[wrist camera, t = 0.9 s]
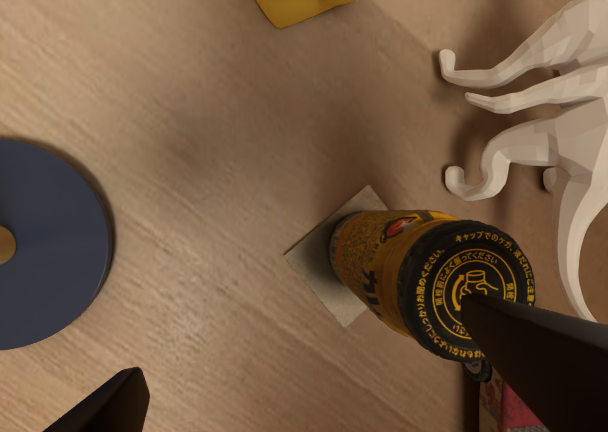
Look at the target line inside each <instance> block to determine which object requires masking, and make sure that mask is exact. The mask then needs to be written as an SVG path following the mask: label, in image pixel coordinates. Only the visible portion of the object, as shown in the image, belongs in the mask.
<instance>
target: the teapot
mask: <svg viewBox="0 0 608 432" xmlns="http://www.w3.org/2000/svg"><path fill="white" fill-rule="evenodd" d="M256 1H257V2H258V4H259V6H260V7H261V9H262V10H263V12H264V13H265V15H266V16H267V18H268V19H269V20H270V21H271V23H272V24H273V25H274V26H275V27H277V28H279V29H281V28H286V27H288V26H291V25H294V24H296V23H299V22H301V21H304V20H306V19H308V18H311V17H313V16H315V15H317V14H320V13H322V12H324V11H326V10H329V9H331V8H333V7H335V6H337V5H343V4H348V3H350V2H353V1H355V0H256Z"/></svg>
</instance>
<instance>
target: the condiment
mask: <svg viewBox="0 0 608 432" xmlns="http://www.w3.org/2000/svg"><path fill="white" fill-rule="evenodd" d="M283 257H284V258H285V259H286V260H287V262H288V263H289V264H290V265H291V266H292V267H293V268H294V270H295V271H296V272H297V273H298V274H299V275H300V277H301V278H302V279H303V280H304V281H305V283H306V284H307V285H308V286H309V287H310V288H311V290H312V291H313V292H314V293H315V294H316V295H317V297H318V298H319V299H320V300H321V301H322V303H323V304H324V305H325V306H326V307H327V308H328V310H329V311H330V312H331V313H332V314H333V315H334V317H335V318H336V319H337V320H338V321H339V323H340V324H341V325H342V326H343V327H344V328H345V327H347V326H348V325H349V324H350V323H351V322H353V321H354V320H355V319H356V318H357V317H358V316H359V315H360V314H361V313H363V312H364V311H365V310H366V309H367V308H369V309H370V310H371V311H372V312H373V313H374V314H375V315H376V316H377V317H378V318H379V319H380V320H381V321H383V322H384V323H385V324H386V325H387V326H389V327H390V328H391V329H393V330H394V331H396V332H398V333H400V334H402V335H404V336H407V337H410V338H414V339H415V340H416V341H417V342H418V343H419V344H420V345H421V346H422V347H423V348H425V349H427V350H429V351H430V352H431V353H433V354H435V355H436V356H438V355H439V356H440V357H441V358H444V359H447V360H453V361H457V362H461V363H472V362H475V361H479V360H483V359H487V358H486V357H485V356H484V354H483V353H482V352H481V350H480V349H479V348H478V346H477V345H476V344H475V342H474V341H473V340H472V338H471V337H470V336H469V335H468V333H467V332H466V331H465V329H464V327H463V326H462V323H461V297H462V296H463V295H465V294H470V293H475V292H477V293H481V294H485V295H489V296H493V297H497V298H501V299H505V300H509V301H513V302H517V303H521V304H525V305H529V306H533V307H534V303H535V283H534V276H533V272H532V268H531V265H530V263H529V261H528V259H527V257H526V256H525V255H524V254H523V252H522V250H521V249H520V247H519V246H518V244H517V243H516V242H515V241H514V239H513V238H511V237H510V236H509V235H508V234H506V233H504V232H502V231H500V230H499V229H497V228H496V227H494V226H491V225H487V224H484V223H482V222H479V221H473V220H460V219H458V218H456V217H454V216H451V215H448V214H445V213H442V212H439V211H429V210H412V211H411V210H399V211H396V210H390V211H389V210H388V209H387V207H386V206H385V205H384V203H383V202H382V201H381V199H380V198H379V197H378V195H377V194H376V193H375V192H374V190H373V189H372V188H371V187H370V185H369V184H368V185H367V186H366V187H364V188H363V189H362V190H361V191H360V192H359V193H357V194H356V195H355V196H354V197H353V198H351V199H350V200H349V201H348V202H347V203H346V204H344V205H343V206H342V207H341V208H339V209H338V210H337V211H336V212H335V213H334V214H332V215H331V216H330V217H329V218H328V219H327V220H325V221H324V222H323V223H322V224H321V225H320V226H319V227H318V228H316V229H315V230H314V231H313V232H311V233H310V234H309V235H308V236H307V237H305V238H304V239H303V240H302V241H301V242H300V243H299V244H297V245H296V246H295V247H294V248H293V249H292V250H290V251H289V252H288V253H287V254H286V255H284V256H283Z"/></svg>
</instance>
